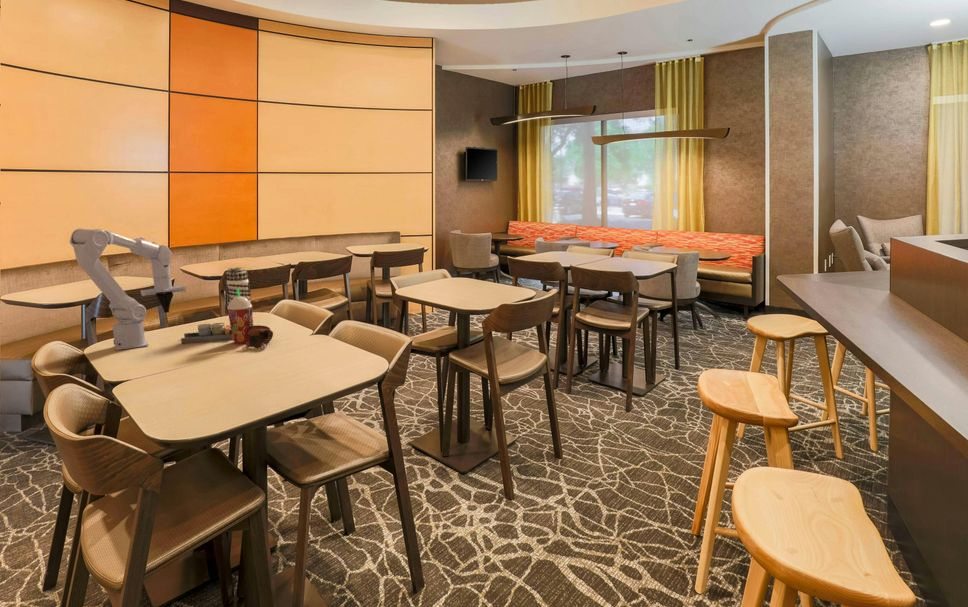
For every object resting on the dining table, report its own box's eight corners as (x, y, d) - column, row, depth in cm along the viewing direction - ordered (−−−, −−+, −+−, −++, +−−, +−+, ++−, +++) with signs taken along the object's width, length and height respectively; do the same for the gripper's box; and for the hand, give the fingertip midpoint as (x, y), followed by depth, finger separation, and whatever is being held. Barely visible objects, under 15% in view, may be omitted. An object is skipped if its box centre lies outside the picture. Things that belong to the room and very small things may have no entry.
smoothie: (260, 340, 200) (255, 287, 196) (247, 346, 192) (242, 291, 188) (239, 339, 201) (234, 287, 197) (226, 345, 193) (220, 291, 189)
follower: (225, 338, 200) (224, 328, 199) (227, 335, 205) (226, 325, 204) (229, 338, 200) (228, 328, 200) (230, 334, 206) (229, 325, 205)
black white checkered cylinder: (259, 329, 217) (254, 267, 212) (238, 334, 209) (232, 270, 204) (245, 326, 221) (240, 266, 216) (225, 331, 214) (218, 268, 209)
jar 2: (214, 340, 199) (212, 326, 198) (211, 337, 202) (210, 323, 201) (226, 338, 201) (225, 324, 200) (224, 335, 205) (222, 322, 204)
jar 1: (200, 341, 197) (198, 327, 196) (198, 338, 201) (196, 324, 200) (213, 339, 200) (212, 325, 199) (211, 337, 203) (209, 323, 202)
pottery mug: (237, 348, 191) (240, 326, 193) (258, 354, 199) (260, 332, 202) (263, 343, 186) (264, 320, 189) (283, 349, 194) (284, 327, 197)
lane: (181, 345, 194) (180, 333, 193) (185, 339, 201) (183, 328, 200) (235, 340, 200) (234, 328, 199) (237, 335, 207) (235, 324, 207)
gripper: (141, 280, 194) (146, 316, 197) (185, 276, 204) (189, 311, 206) (138, 277, 200) (143, 313, 202) (181, 274, 209) (185, 308, 212)
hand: (166, 312), depth 205 cm, fingers closed
